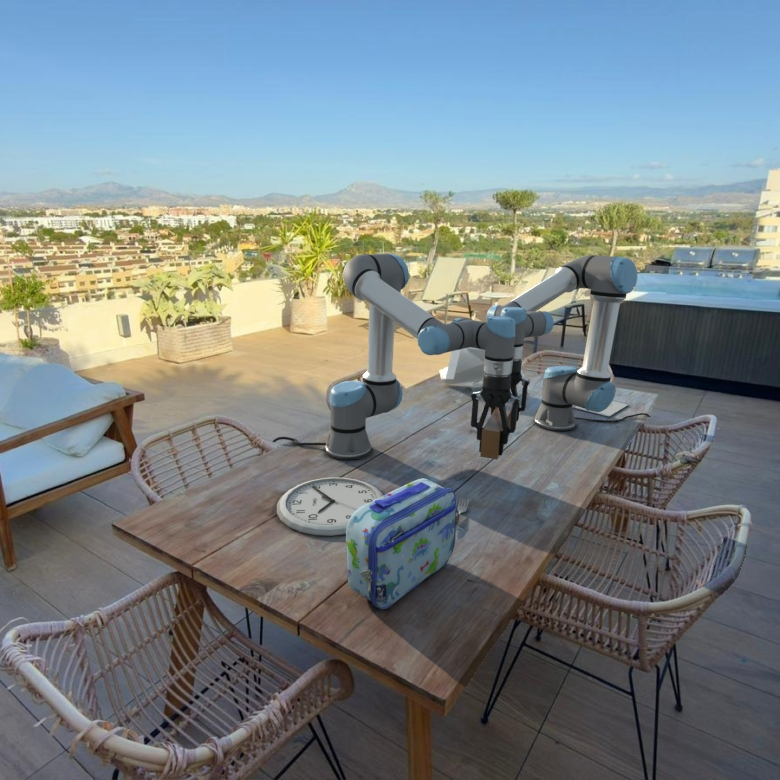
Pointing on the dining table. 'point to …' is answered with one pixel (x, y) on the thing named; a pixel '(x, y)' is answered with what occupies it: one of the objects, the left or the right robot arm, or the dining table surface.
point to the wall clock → (324, 504)
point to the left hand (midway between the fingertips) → (491, 451)
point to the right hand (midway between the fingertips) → (503, 428)
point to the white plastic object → (466, 367)
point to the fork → (461, 509)
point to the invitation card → (608, 409)
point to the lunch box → (400, 540)
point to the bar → (494, 433)
